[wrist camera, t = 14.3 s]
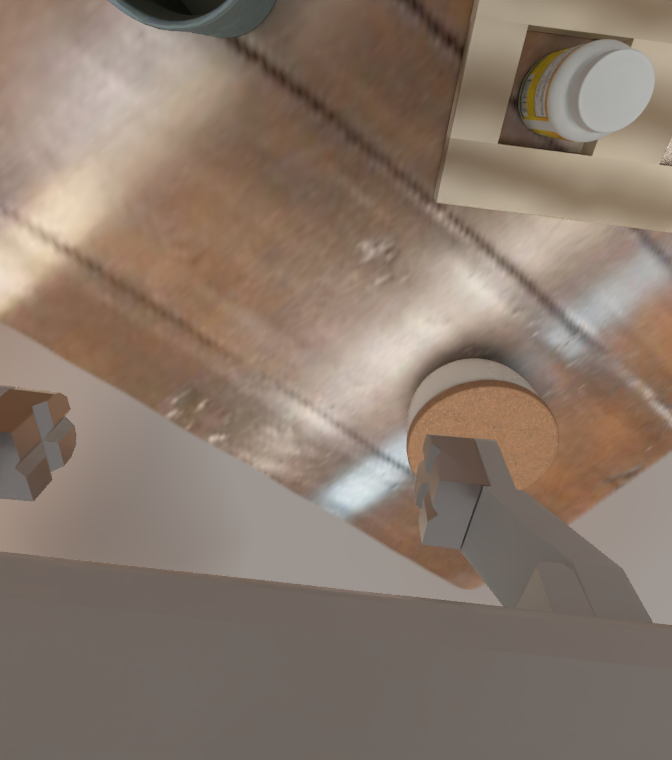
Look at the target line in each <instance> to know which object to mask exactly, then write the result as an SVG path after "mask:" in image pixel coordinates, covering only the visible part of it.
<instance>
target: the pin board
mask: <svg viewBox="0 0 672 760" xmlns="http://www.w3.org/2000/svg"><path fill="white" fill-rule="evenodd" d="M527 30H530V31H537V32H545V33H553V34H560V35H568V36H575V37H583V38H590V39H598V40H601V39H614V40H618V41H621V42H623V43H625V44H627V45H628V46H630V47H631V48H632V49H635V50H638V51H640V52H642V53H644V54H645V55H646V56H647V57H648V58H649V59H650V61H651V63H652V65H653V68H654V72H655V85H654V90H653V93H652V96H651V99H650V101H649V103H648V104H647V106H646V108H645V109H644V110H643V112H642V113H641V114H640V115H639V116H638V117H637V118H636V119H635V120H634V121H633V122H632V123H631V124H629V125H628V126H626V127H624V128H622V129H620V130H617V131H615V132H612V133H610V134H608V135H607V136H605V137H603V138H600V139H598V140H594V141H590V142H585V144H584V147H583V150H582V153H581V154H578V153H570V152H562V151H555V150H547V149H539V148H531V147H524V146H516V145H508V144H501V143H498V140H499V137H500V133H501V129H502V125H503V121H504V117H505V114H506V110H507V106H508V102H509V98H510V94H511V90H512V87H513V83H514V79H515V75H516V71H517V67H518V64H519V60H520V56H521V52H522V48H523V44H524V40H525V37H526V33H527ZM671 136H672V0H474V4H473V9H472V14H471V18H470V23H469V28H468V33H467V38H466V43H465V47H464V52H463V57H462V62H461V67H460V71H459V76H458V81H457V86H456V91H455V96H454V100H453V105H452V110H451V115H450V120H449V125H448V129H447V134H446V139H445V144H444V149H443V154H442V158H441V163H440V168H439V173H438V178H437V183H436V187H435V192H434V197H433V199H434V200H435V201H436V203H444V204H452V205H460V206H468V207H475V208H483V209H491V210H499V211H507V212H514V213H522V214H530V215H538V216H546V217H554V218H561V219H569V220H577V221H585V222H593V223H600V224H608V225H616V226H624V227H632V228H640V229H647V230H655V231H663V232H671V233H672V166H671V165H663V164H660V162H661V160H662V157H663V155H664V153H665V150H666V148H667V146H668V143H669V141H670V139H671Z"/></svg>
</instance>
